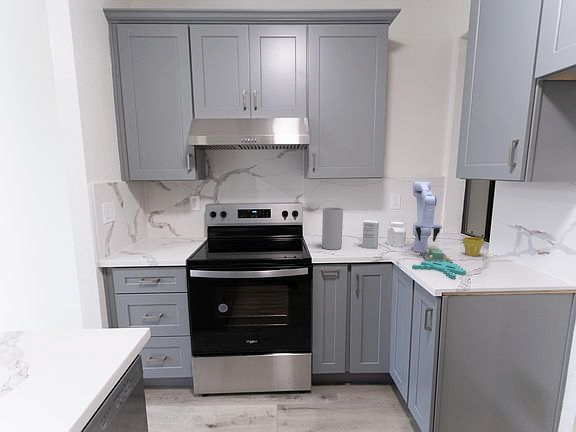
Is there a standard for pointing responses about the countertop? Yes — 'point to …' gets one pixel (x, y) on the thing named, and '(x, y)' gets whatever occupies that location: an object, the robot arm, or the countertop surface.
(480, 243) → the plant pot
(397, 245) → the jar
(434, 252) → the green block
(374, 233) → the supplement box
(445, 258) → the chassis
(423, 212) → the robot arm
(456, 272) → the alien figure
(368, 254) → the countertop surface
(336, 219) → the cylinder vase
